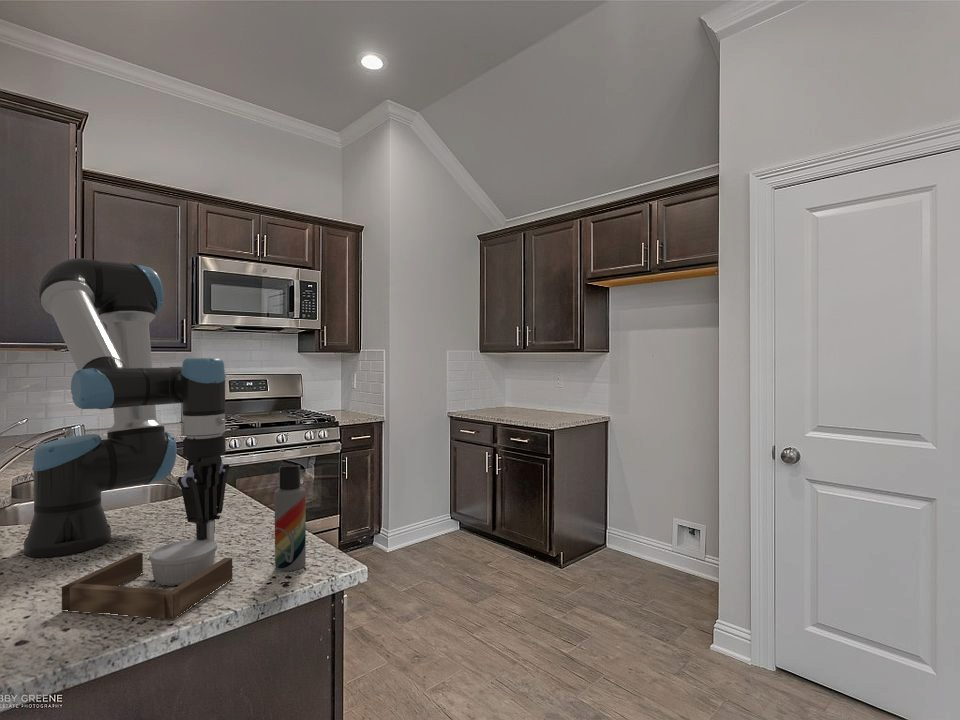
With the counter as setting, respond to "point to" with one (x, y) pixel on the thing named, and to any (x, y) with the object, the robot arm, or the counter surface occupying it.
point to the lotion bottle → (290, 520)
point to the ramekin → (181, 560)
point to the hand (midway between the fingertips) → (205, 553)
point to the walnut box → (140, 590)
